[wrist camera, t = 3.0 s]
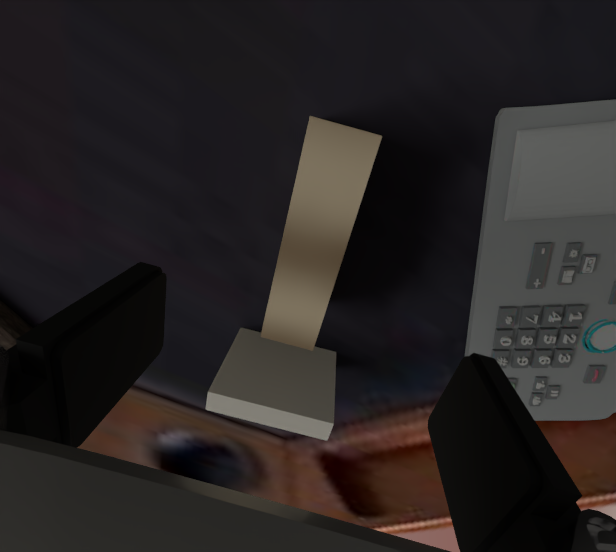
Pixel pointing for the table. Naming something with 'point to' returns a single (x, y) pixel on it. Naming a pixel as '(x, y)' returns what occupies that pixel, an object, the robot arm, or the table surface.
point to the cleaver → (11, 326)
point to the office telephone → (550, 259)
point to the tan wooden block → (318, 228)
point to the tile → (276, 385)
